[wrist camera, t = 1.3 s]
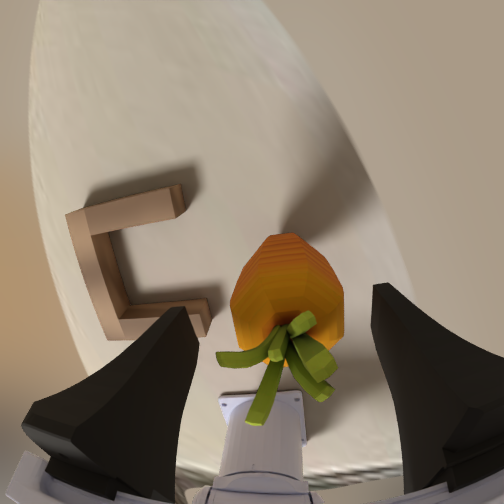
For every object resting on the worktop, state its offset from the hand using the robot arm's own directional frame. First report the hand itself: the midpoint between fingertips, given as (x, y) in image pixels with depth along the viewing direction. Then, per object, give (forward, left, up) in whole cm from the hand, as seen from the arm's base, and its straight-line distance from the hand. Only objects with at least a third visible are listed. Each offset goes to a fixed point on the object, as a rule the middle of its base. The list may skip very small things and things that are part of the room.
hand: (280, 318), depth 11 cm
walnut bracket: (-1, +10, -11) cm, 15 cm away
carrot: (-1, 0, -11) cm, 11 cm away
